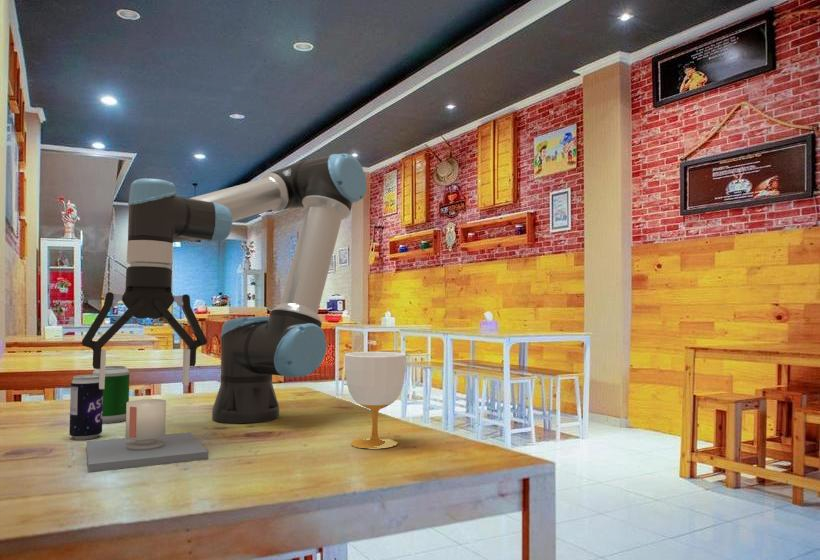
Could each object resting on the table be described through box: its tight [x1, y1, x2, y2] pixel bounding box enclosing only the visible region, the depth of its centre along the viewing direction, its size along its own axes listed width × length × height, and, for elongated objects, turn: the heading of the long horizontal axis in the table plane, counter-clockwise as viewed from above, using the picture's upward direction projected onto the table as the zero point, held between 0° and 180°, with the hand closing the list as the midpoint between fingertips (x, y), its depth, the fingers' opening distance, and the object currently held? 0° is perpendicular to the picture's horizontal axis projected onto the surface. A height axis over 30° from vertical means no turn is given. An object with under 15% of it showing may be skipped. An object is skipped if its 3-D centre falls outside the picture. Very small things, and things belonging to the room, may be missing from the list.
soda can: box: [92, 365, 131, 424], centre depth 137 cm, size 8×8×12 cm
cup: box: [344, 351, 407, 449], centre depth 115 cm, size 12×12×17 cm
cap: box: [125, 398, 167, 440], centre depth 107 cm, size 6×6×6 cm
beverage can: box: [68, 374, 103, 441], centre depth 119 cm, size 6×6×12 cm
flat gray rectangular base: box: [86, 431, 209, 473], centre depth 107 cm, size 18×18×3 cm
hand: (144, 386), depth 107 cm, fingers open, 13 cm apart
